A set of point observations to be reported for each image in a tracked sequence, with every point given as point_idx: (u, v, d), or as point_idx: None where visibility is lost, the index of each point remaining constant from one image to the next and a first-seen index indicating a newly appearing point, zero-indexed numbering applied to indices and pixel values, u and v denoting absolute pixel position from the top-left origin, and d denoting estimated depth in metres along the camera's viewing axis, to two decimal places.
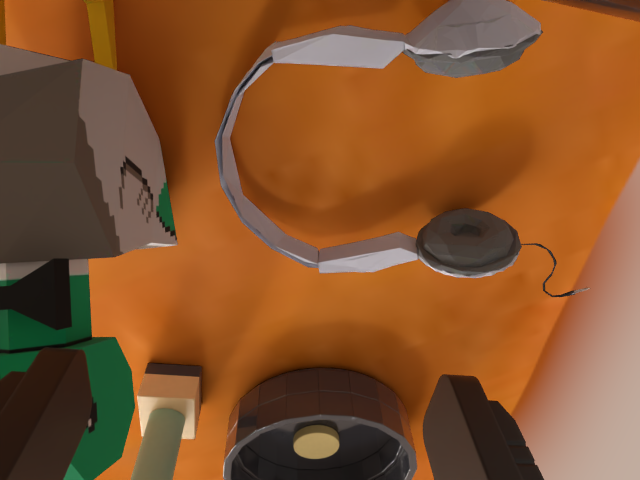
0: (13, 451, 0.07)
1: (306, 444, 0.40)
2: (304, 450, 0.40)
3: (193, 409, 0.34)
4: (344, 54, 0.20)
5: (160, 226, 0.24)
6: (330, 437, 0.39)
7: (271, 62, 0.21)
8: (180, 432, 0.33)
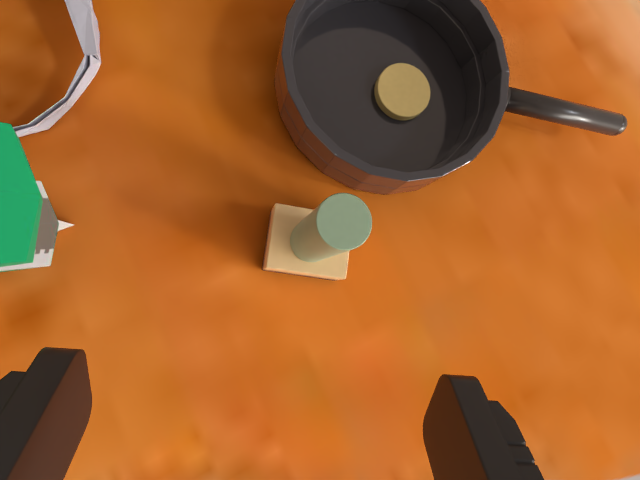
0: (13, 451, 0.07)
1: (400, 100, 0.33)
2: (412, 103, 0.33)
3: (294, 207, 0.28)
4: None
5: None
6: (386, 71, 0.33)
7: None
8: None
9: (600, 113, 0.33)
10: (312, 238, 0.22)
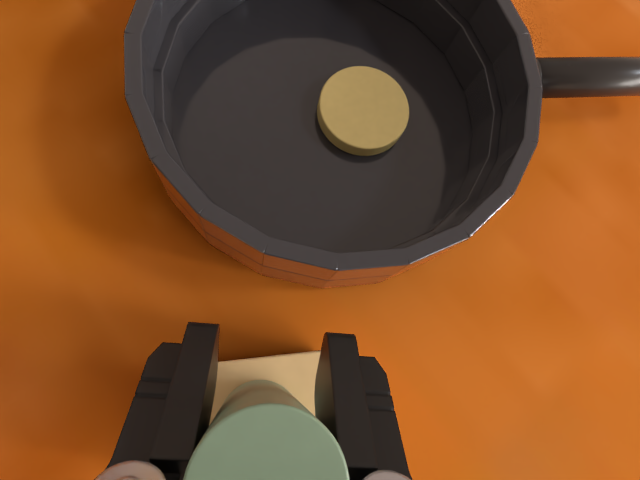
0: (195, 405, 0.09)
1: (362, 125, 0.20)
2: (383, 125, 0.20)
3: None
4: None
5: None
6: (329, 85, 0.20)
7: None
8: (242, 386, 0.14)
9: None
10: None
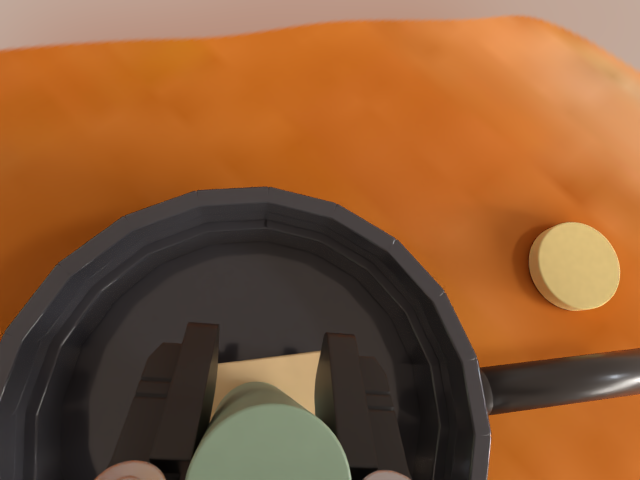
0: (195, 405, 0.09)
1: None
2: None
3: None
4: None
5: None
6: (545, 293, 0.21)
7: None
8: (237, 388, 0.14)
9: None
10: None
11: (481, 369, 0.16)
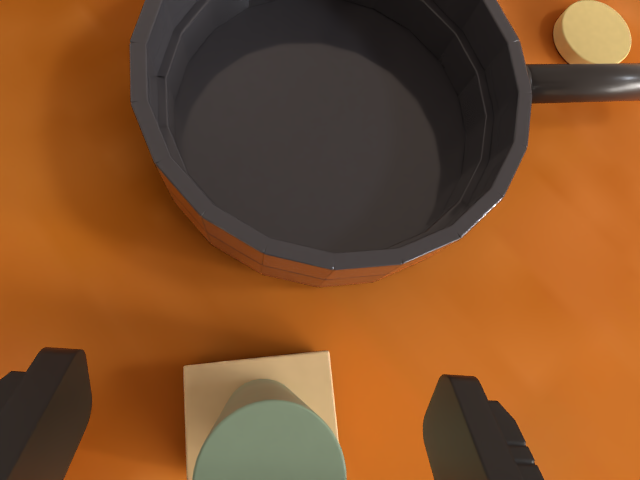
0: (13, 451, 0.07)
1: None
2: None
3: (219, 365, 0.16)
4: None
5: None
6: (568, 59, 0.25)
7: None
8: (246, 385, 0.14)
9: None
10: None
11: None
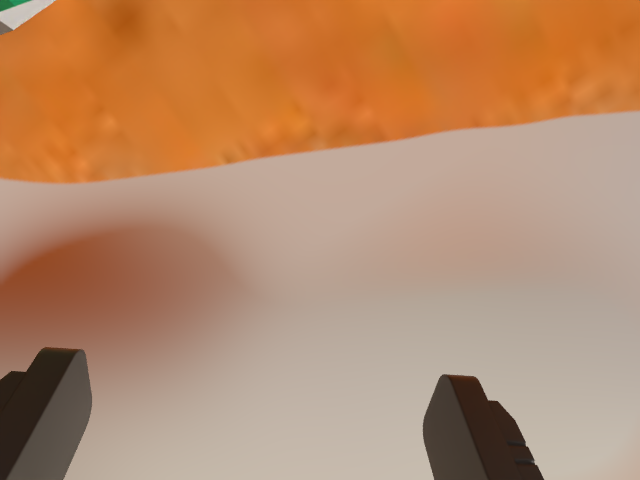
0: (13, 451, 0.07)
1: None
2: None
3: None
4: None
5: None
6: None
7: None
8: None
9: None
10: None
11: None
